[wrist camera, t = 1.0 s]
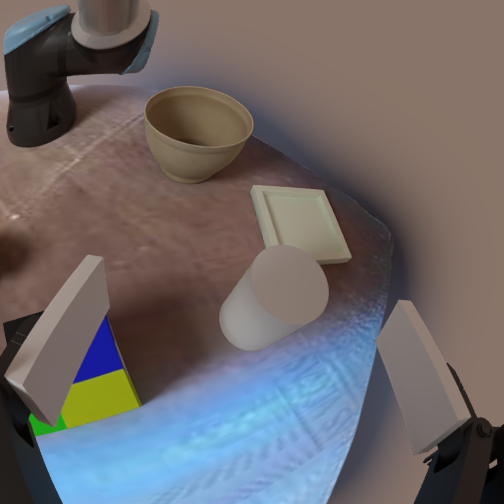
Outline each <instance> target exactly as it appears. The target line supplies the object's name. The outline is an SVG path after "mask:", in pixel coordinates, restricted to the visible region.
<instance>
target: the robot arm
mask: <svg viewBox="0 0 504 504" xmlns="http://www.w3.org/2000/svg"><path fill="white" fill-rule="evenodd" d="M77 1H78V7H79V9H78V11H77V12H76V13H70V12H71V9H70V6H69V5H59V6H54V7H50V8H47V9H44V10H41V11H38V12H36V13H33V14H31V15H29V16H27V17H25V18H23V19H21V20H19V21H17V22H16V23H14V24H13V25H12V26H11V27H10V28H9V29H8V30H7V31H6V33H5V36H4V52H3V55H4V62H5V72H6V79H7V87H8V94H9V108H8V116H7V125H6V128H7V133H8V137H9V140H10V142H11V143H12V144H14V145H16V146H19V147H34V146H38V145H42V144H45V143H47V142H50V141H52V140H54V139H56V138H57V137H59V136H61V135H62V134H63V133H65V132H66V131H67V130H68V129H69V128H70V127H71V126H72V125H73V123H74V121H75V119H76V115H77V113H76V103H75V100H74V98H73V96H72V93H71V91H70V89H69V86H68V84H67V76H74V75H90V74H119V75H123V74H126V73H137V72H139V71H141V70H142V69H143V68H144V66H145V65H146V63H147V60H148V58H149V55H150V51H151V47H152V45H153V43H154V39H155V35H156V31H157V27H158V22H159V14H158V13H157V12H156V11H153V10H151V9H150V6H149V4H148V2H147V1H146V0H77ZM109 308H110V304H109V298H108V292H107V285H106V277H105V269H104V261H103V257H99V256H93V255H87V256H86V257H85V259H84V260H83V261H82V262H81V264H80V265H79V266H78V267H77V269H76V270H75V271H74V272H73V274H72V275H71V276H70V277H69V279H68V280H67V281H66V283H65V284H64V285H63V287H62V288H61V289H60V291H59V292H58V293H57V295H56V296H55V297H54V299H53V300H52V301H51V303H50V304H49V306H48V307H47V308H46V310H45V311H44V313H43V314H42V316H41V317H40V316H37V315H34V314H33V315H32V316H30V317H29V318H28V319H26V320H25V321H24V322H23V323H22V324H21V326H20V327H19V328H18V330H17V331H16V334H14V336H13V337H12V339H11V342H9V343H8V345H7V347H6V348H5V350H4V351H3V353H2V355H1V356H0V504H63V503H62V501H61V499H60V497H59V495H58V493H57V491H56V488H55V486H54V484H53V482H52V480H51V477H50V475H49V473H48V470H47V468H46V465H45V463H44V460H43V458H42V455H41V452H40V449H39V447H38V444H37V441H36V438H35V435H34V432H33V428H32V425H31V423H30V421H29V417H30V414H31V413H32V414H33V416H34V417H35V418H36V419H37V420H38V421H40V422H42V423H45V424H47V425H49V426H51V427H54V428H55V425H56V423H57V420H58V417H59V415H60V412H61V410H62V407H63V405H64V402H65V400H66V398H67V395H68V393H69V390H70V388H71V386H72V384H73V381H74V379H75V377H76V375H77V372H78V370H79V368H80V366H81V364H82V361H83V359H84V357H85V355H86V353H87V351H88V349H89V347H90V345H91V343H92V341H93V339H94V337H95V335H96V333H97V331H98V329H99V327H100V325H101V323H102V321H103V319H104V317H105V315H106V313H107V311H108V310H109ZM375 342H376V345H377V347H378V350H379V352H380V355H381V358H382V360H383V363H384V365H385V368H386V371H387V374H388V376H389V379H390V382H391V385H392V387H393V390H394V393H395V396H396V399H397V402H398V405H399V407H400V411H401V414H402V417H403V420H404V423H405V426H406V430H407V433H408V436H409V439H410V443H411V446H412V449H413V453H414V455H418V454H421V453H425V452H428V451H429V450H430V449H432V448H434V447H435V446H436V445H437V446H438V450H437V451H436V452H434V453H433V454H431V455H430V456H429V457H427V458H426V459H425V460H424V461H423V463H426V462H427V461H429V460H430V459H432V461H431V462H429V463H428V464H427V465H429V469H428V472H427V474H426V476H425V479H424V481H423V484H422V486H421V488H420V491H419V493H418V495H417V497H416V500H415V502H414V504H504V424H503V425H502V426H501V427H492V426H491V424H490V423H489V421H487V420H486V419H485V418H481V417H480V418H477V416H476V414H475V412H474V409H473V407H472V405H471V403H470V401H469V398H468V396H467V394H466V392H465V390H463V386H462V384H461V383H460V380H459V378H458V376H457V374H456V372H455V370H454V369H453V368H452V367H451V366H450V365H449V364H448V363H446V362H445V360H444V358H443V357H442V354H441V353H440V351H439V349H438V347H437V345H436V344H435V342H434V340H433V338H432V336H431V334H430V332H429V331H428V329H427V327H426V325H425V324H424V322H423V320H422V319H421V317H420V315H419V313H418V312H417V310H416V309H415V307H414V305H413V304H412V302H411V301H406V300H398V302H397V304H396V306H395V308H394V309H393V311H392V313H391V315H390V317H389V319H388V320H387V322H386V324H385V326H384V327H383V329H382V330H381V332H380V334H379V335H378V337H377V339H376V340H375ZM496 459H497V465H496V466H494V467H493V468H491V469H490V468H489V464H490V463H492V462H493V461H494V460H496Z"/></svg>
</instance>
